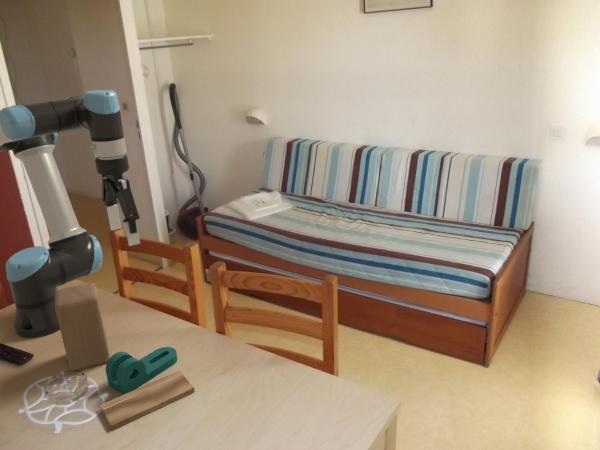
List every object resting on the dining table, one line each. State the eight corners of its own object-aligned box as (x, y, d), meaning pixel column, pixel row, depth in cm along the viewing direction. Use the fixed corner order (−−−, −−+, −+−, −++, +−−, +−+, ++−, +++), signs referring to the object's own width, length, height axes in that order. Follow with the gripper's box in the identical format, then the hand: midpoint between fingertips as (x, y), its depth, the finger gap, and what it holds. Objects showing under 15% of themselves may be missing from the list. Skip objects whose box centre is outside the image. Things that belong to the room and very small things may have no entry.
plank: (100, 409, 121) (99, 404, 120) (179, 374, 132) (179, 370, 131) (112, 430, 114) (111, 425, 114) (194, 391, 125) (194, 387, 125)
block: (70, 373, 133) (54, 306, 126) (69, 352, 142) (54, 289, 135) (110, 362, 137) (97, 297, 130) (107, 343, 146) (94, 280, 138)
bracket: (125, 396, 125) (119, 370, 122) (108, 386, 128) (103, 360, 126) (182, 359, 138) (179, 334, 135) (166, 351, 142) (162, 326, 139)
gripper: (80, 150, 132) (95, 226, 140) (112, 168, 114) (127, 255, 122) (109, 145, 137) (122, 219, 144) (145, 162, 118) (157, 247, 126)
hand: (124, 236), depth 133 cm, fingers open, 13 cm apart
